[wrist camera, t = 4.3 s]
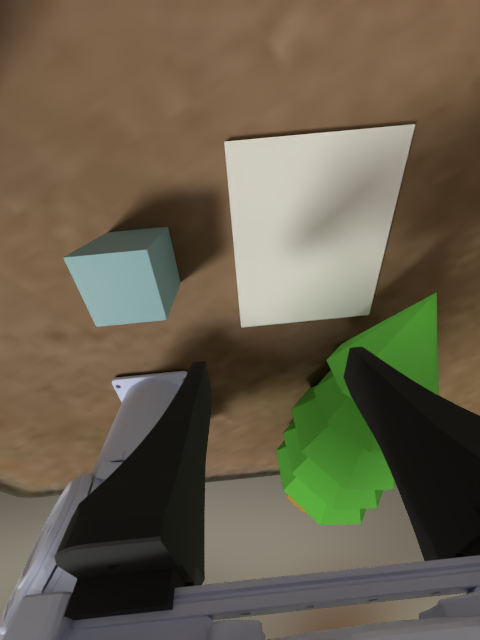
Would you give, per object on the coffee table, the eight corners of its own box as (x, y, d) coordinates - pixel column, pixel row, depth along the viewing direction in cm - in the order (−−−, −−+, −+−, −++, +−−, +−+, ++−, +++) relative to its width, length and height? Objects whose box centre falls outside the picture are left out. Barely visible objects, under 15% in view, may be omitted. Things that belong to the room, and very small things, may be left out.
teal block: (180, 282, 21) (166, 319, 16) (127, 287, 21) (96, 326, 16) (168, 226, 18) (146, 249, 13) (107, 232, 18) (63, 257, 13)
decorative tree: (299, 573, 26) (507, 377, 9) (249, 466, 34) (310, 261, 17) (370, 519, 31) (594, 327, 14) (312, 437, 39) (407, 255, 22)
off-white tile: (365, 311, 23) (369, 314, 23) (240, 323, 23) (241, 327, 23) (409, 125, 16) (415, 124, 15) (224, 142, 16) (224, 141, 15)
